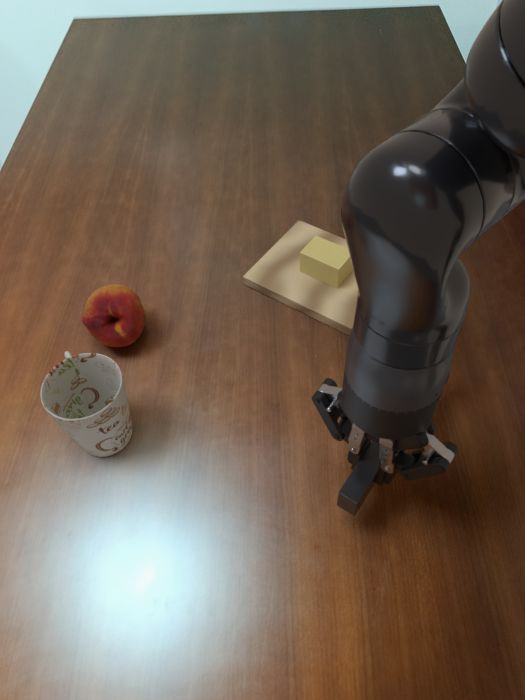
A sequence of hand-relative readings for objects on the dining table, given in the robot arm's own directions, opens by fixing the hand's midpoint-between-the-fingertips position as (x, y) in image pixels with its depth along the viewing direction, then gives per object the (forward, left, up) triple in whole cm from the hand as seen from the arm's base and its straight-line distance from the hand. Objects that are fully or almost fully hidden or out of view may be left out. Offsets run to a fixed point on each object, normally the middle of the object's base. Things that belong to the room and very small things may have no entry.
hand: (371, 470), depth 57 cm
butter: (+20, -24, -3) cm, 32 cm away
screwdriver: (0, -5, 0) cm, 5 cm away
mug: (+30, +10, -5) cm, 32 cm away
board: (+18, -24, -5) cm, 30 cm away
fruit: (+37, -1, -5) cm, 37 cm away
